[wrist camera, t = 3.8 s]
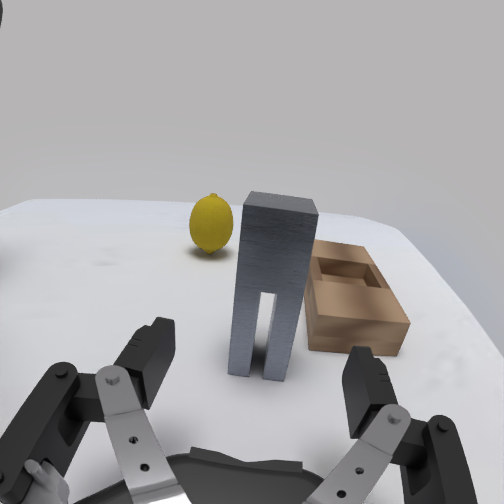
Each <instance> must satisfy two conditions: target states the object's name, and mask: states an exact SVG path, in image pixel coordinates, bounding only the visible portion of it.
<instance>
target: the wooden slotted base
mask: <svg viewBox="0 0 504 504" xmlns="http://www.w3.org/2000/svg"><path fill="white" fill-rule="evenodd" d="M304 300H305V310H306V321H307V332H308V344H309V350H316V351H326V352H338V353H350V352H351V349H352V347H353V346H368V347H370V348H371V351H372V354H373V355H384V356H397V354H398V352H399V350H400V348H401V345H402V343H403V341H404V338H405V336H406V333H407V331H408V329H409V326H410V324H411V323H410V321H409V319H408V317H407V316H406V314H405V312H404V310H403V309H402V307H401V305H400V304H399V302H398V300H397V299H396V297H395V295H394V294H393V292H392V290H391V289H390V287H389V285H388V284H387V282H386V280H385V279H384V277H383V276H382V274H381V272H380V271H379V269H378V268H377V266H376V265H375V263H374V261H373V260H372V258H371V257H370V255H369V254H368V252H367V251H366V249H365V248H364V247H363V246H356V245H349V244H343V243H336V242H329V241H322V240H315V239H314V244H313V249H312V255H311V260H310V265H309V270H308V276H307V281H306V286H305V290H304Z"/></svg>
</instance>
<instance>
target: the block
mask: <svg viewBox="0 0 504 504" xmlns="http://www.w3.org/2000/svg"><path fill="white" fill-rule="evenodd" d="M318 216H319V214H318V212H317V209H316V207H315V205H314V202H313V200H312V199H306V198H299V197H292V196H285V195H278V194H270V193H262V192H254V191H251V192H250V194H249V195H248V197H247V199H246V200H245V202H244V204H243V212H242V222H241V232H240V242H239V252H238V263H237V273H236V284H235V295H234V306H233V317H232V328H231V339H230V351H229V363H228V374H232V375H238V376H245V377H249V372H250V365H251V359H252V353H253V346H254V340H255V333H256V326H257V319H258V311H259V304H260V297H261V292H265V293H272V294H275V296H274V302H273V308H272V314H271V320H270V326H269V332H268V338H267V344H266V353H265V362H264V372H263V379H267V380H275V381H284V379H285V375H286V370H287V366H288V362H289V358H290V354H291V350H292V345H293V341H294V337H295V332H296V328H297V323H298V319H299V314H300V310H301V305H302V300H303V295H304V290H305V286H306V281H307V276H308V270H309V265H310V260H311V255H312V249H313V244H314V239H315V233H316V227H317V222H318Z"/></svg>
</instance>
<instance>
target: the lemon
mask: <svg viewBox="0 0 504 504" xmlns="http://www.w3.org/2000/svg"><path fill="white" fill-rule="evenodd" d="M189 228H190V234H191V237H192V240H193V241H194V243H195V244H196V245H197V246H198V247H200V248H201V249H204V250H205V251H206V252H207V253H208V254H212V253H213V252H214V251H215V250H218V249H220V248H222V247H223V246H225V245H226V244H227V242H228V241H229V239H230V237H231V234H232V231H233V215H232V211H231V208H230V206H229V205H228V203H227V202H226V201H225V200H223V199H222V198H220V197H218V196H217V194H214V193H212V194H210V195H209V196H207V197H204V198H202V199H201V200H199V201H198V202H197V203H196V204H195V206H194V208H193V210H192V213H191V216H190V223H189Z"/></svg>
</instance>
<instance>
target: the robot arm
mask: <svg viewBox="0 0 504 504" xmlns="http://www.w3.org/2000/svg"><path fill="white" fill-rule="evenodd" d="M2 13H3V8H2V2H1V0H0V25H1V21H2ZM174 354H175V323H174V320H172V319H167V318H162V317H157V318H156V319H155V321H154V322H153V324H152V325H151V326H147V325H144V326H143V327H141V328H140V329H138V330H137V331H136V332H135V333H134V335H133V336H132V338H131V339H130V341H129V342H128V344H127V345H126V346H125V348H124V349H123V351H122V352H121V354H120V355H119V357H118V358H117V360H116V361H115V363H114V364H113V365H110V366H106V367H103V368H101V369H100V370H99V371H98V372H97V374H87V373H78V372H77V369H76V367H75V366H74V365H73V364H71V363H68V362H59V363H56V364H54V365H52V366H51V367H50V368H49V369H48V370H47V371H46V373H45V374H44V376H43V377H42V378H41V380H40V381H39V382H38V384H37V385H36V387H35V388H34V389H33V391H32V392H31V394H30V395H29V396H28V398H27V399H26V401H25V402H24V404H23V405H22V406H21V408H20V409H19V411H18V412H17V414H16V415H15V417H14V418H13V420H12V421H11V423H10V424H9V426H8V427H7V429H6V431H5V432H4V434H3V435H2V437H1V438H0V502H1V503H3V504H68V497H69V486H68V484H67V482H66V481H65V480H64V479H63V478H64V476H65V474H66V472H67V470H68V467H69V465H70V463H71V461H72V459H73V457H74V455H75V453H76V450H77V448H78V446H79V444H80V442H81V440H82V438H83V436H84V434H85V432H86V430H87V428H88V426H89V424H90V422H105V423H106V426H107V430H108V433H109V436H110V440H111V443H112V446H113V449H114V452H115V455H116V458H117V461H118V463H119V466H120V469H121V472H122V474H123V477H124V479H123V480H121V481H119V482H118V483H116V484H114V485H112V486H110V487H107V488H105V489H103V490H101V491H99V492H97V493H95V494H93V495H91V496H88V497H86V498H84V499H82V500H79V501H77V502H75V503H74V504H362V503H363V501H364V500H365V498H366V497H367V496H368V494H369V493H370V491H371V490H372V489H373V487H374V486H375V484H376V483H377V481H378V480H379V478H380V477H381V475H382V474H383V472H384V471H385V469H386V467H387V466H388V464H389V463H392V464H397V465H400V471H401V478H402V486H403V494H404V503H405V504H478V503H477V498H476V494H475V490H474V486H473V482H472V478H471V475H470V471H469V467H468V464H467V461H466V457H465V454H464V451H463V447H462V444H461V441H460V438H459V435H458V432H457V429H456V426H455V424H454V422H453V421H452V420H451V419H450V418H448V417H446V416H443V415H435V416H433V417H432V418H431V419H430V420H429V421H428V422H425V421H420V420H416V419H412V418H411V417H410V414H409V412H408V411H407V410H406V409H405V408H403V407H402V406H399V405H398V402H397V399H396V396H395V393H394V389H393V386H392V383H391V382H390V381H391V380H390V377H389V376H388V371H387V368H386V366H385V365H384V363H383V362H382V361H381V360H380V359H379V358H374V357H373V354H372V351H371V348H370V347H368V346H353V347H352V349H351V352H350V354H349V357H348V360H347V362H346V365H345V368H344V370H343V375H342V386H343V392H344V398H345V405H346V411H347V418H348V425H349V432H350V439H358V440H357V442H356V443H355V444H354V445H353V447H352V448H351V449H350V450H349V452H348V453H347V454H346V455H345V457H344V458H343V459H342V460H341V462H340V463H339V464H338V465H337V466H336V467H335V469H334V470H333V471H332V472H331V473H330V474H329V476H328V477H327V478H326V479H325V480H324V479H323V478H321V477H320V476H318V475H316V474H314V473H313V472H310V471H307V470H304V469H302V462H299V461H284V460H268V461H258V462H244V461H241V460H238V459H235V458H233V457H230V456H227V455H225V454H222V453H220V452H216V451H211V450H206V449H201V448H196V447H191V450H190V453H184V454H176V455H171V456H168V457H165V456H164V454H163V452H162V449H161V447H160V445H159V443H158V441H157V439H156V437H155V434H154V432H153V430H152V427H151V425H150V423H149V421H148V418H147V416H146V413H145V411H144V409H147V410H149V409H150V407H151V405H152V403H153V401H154V399H155V396H156V394H157V392H158V390H159V388H160V386H161V384H162V381H163V379H164V377H165V375H166V373H167V371H168V369H169V367H170V364H171V362H172V360H173V358H174ZM143 408H144V409H143Z"/></svg>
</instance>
